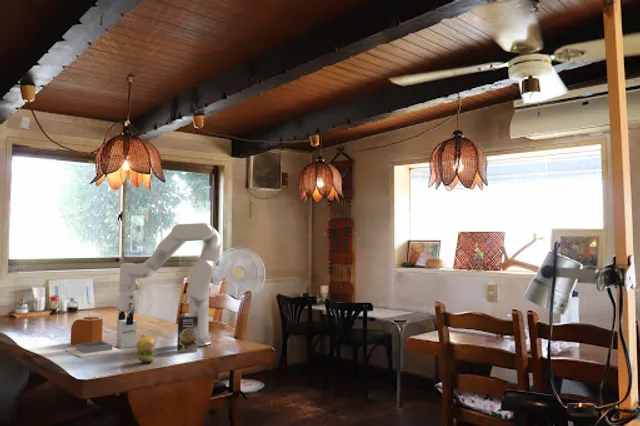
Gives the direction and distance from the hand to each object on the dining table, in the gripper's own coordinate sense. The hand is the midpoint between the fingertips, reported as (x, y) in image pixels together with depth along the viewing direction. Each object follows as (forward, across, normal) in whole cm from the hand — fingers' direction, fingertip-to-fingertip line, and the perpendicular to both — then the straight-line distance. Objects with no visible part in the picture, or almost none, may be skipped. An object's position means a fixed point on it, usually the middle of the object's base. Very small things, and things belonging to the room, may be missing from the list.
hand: (125, 323), depth 252 cm
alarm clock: (+12, +18, +11) cm, 25 cm away
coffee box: (+10, -32, -17) cm, 37 cm away
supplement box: (+11, -1, -1) cm, 11 cm away
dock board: (+11, -3, +15) cm, 19 cm away
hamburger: (+11, -43, +8) cm, 45 cm away
